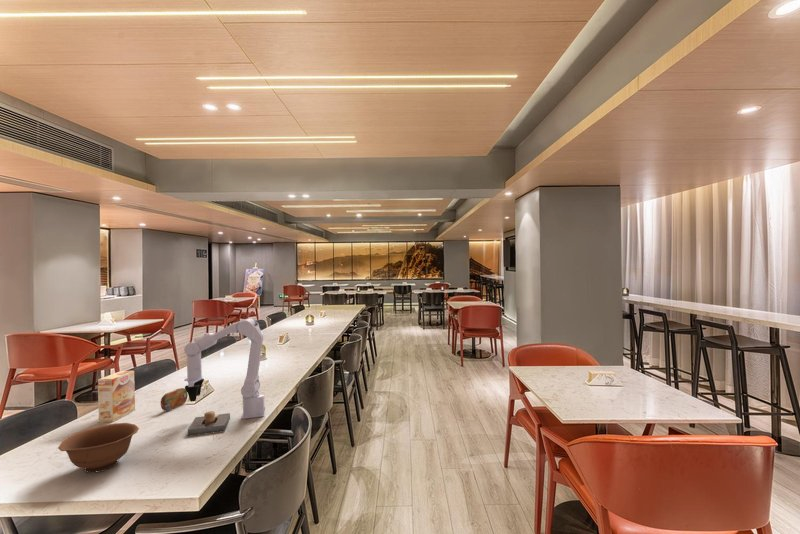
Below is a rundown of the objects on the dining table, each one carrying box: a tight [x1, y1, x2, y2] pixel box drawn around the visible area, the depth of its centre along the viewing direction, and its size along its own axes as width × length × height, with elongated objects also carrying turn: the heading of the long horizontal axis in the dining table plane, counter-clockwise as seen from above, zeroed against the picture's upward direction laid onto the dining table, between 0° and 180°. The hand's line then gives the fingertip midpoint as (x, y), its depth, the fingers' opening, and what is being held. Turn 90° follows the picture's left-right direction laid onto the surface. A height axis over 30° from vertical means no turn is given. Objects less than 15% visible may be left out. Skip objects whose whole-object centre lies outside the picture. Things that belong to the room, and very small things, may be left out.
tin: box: [160, 387, 189, 412], centre depth 191 cm, size 15×3×8 cm, turn 168°
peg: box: [204, 410, 216, 424], centre depth 165 cm, size 4×4×6 cm
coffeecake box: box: [97, 370, 136, 423], centre depth 182 cm, size 15×7×20 cm, turn 0°
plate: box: [187, 412, 231, 437], centre depth 165 cm, size 14×14×3 cm
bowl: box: [57, 422, 140, 473], centre depth 134 cm, size 22×22×11 cm
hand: (195, 398), depth 175 cm, fingers open, 7 cm apart
